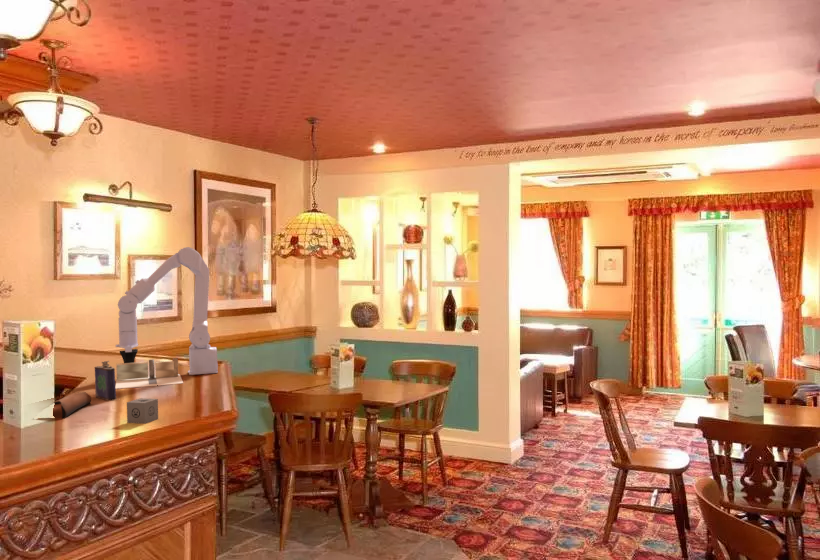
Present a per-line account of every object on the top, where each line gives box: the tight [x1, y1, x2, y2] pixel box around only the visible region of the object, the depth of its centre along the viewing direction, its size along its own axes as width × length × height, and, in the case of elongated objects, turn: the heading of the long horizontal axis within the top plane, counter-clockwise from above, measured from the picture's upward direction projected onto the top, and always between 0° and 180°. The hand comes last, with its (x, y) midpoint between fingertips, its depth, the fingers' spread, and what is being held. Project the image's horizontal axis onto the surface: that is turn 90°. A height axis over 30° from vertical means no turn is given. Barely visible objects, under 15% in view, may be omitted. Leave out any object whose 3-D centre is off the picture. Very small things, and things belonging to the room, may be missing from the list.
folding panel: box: [115, 361, 149, 380], centre depth 226 cm, size 10×1×5 cm, turn 112°
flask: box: [94, 360, 117, 401], centre depth 195 cm, size 9×3×11 cm, turn 50°
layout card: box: [115, 373, 184, 390], centre depth 223 cm, size 20×20×1 cm
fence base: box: [148, 357, 179, 379], centre depth 229 cm, size 9×2×6 cm, turn 112°
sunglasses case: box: [53, 391, 92, 419], centre depth 178 cm, size 18×7×7 cm, turn 7°
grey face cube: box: [126, 397, 159, 425], centre depth 165 cm, size 5×5×5 cm
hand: (129, 371), depth 230 cm, fingers closed
